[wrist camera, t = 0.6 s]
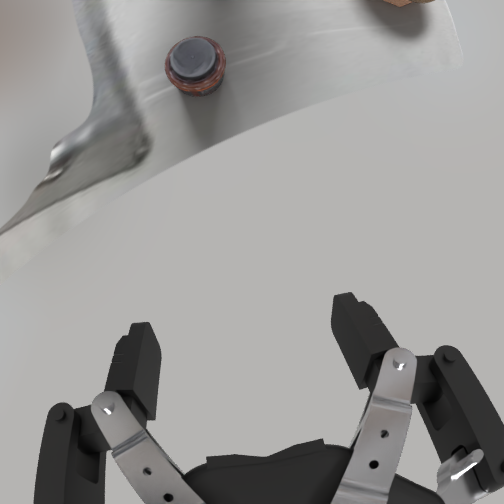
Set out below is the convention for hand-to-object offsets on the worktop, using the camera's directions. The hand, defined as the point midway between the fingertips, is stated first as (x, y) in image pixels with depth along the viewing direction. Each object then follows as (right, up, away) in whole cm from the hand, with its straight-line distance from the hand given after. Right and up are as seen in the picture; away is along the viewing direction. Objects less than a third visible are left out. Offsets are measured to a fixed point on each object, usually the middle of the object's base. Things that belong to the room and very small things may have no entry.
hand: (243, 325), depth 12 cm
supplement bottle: (-6, +25, +18) cm, 31 cm away
